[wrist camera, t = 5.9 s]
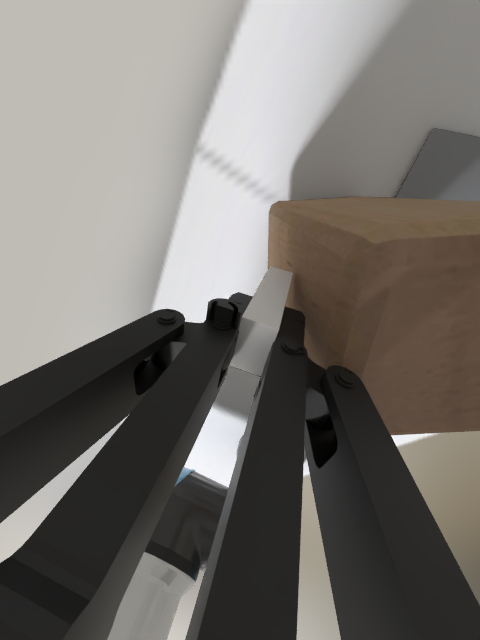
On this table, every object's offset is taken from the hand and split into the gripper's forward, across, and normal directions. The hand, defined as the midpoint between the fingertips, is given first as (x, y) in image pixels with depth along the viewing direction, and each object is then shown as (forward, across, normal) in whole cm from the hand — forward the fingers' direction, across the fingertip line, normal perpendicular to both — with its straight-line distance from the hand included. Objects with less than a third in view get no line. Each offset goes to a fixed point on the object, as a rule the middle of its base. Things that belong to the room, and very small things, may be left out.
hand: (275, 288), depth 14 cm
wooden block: (+14, -2, 0) cm, 14 cm away
